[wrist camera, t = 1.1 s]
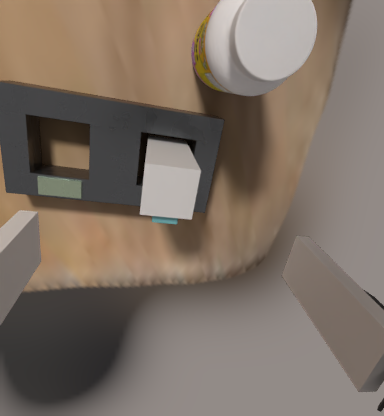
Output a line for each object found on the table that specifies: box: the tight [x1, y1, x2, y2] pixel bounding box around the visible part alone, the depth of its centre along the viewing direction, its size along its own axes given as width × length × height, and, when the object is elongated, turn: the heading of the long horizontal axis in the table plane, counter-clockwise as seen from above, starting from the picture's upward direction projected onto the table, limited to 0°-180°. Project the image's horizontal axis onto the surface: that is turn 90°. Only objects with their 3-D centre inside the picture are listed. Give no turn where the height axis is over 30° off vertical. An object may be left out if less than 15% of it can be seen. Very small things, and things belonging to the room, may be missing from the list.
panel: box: [0, 81, 224, 213], centre depth 27 cm, size 10×20×3 cm, turn 80°
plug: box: [140, 135, 201, 224], centre depth 25 cm, size 5×4×11 cm
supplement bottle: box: [191, 0, 317, 96], centre depth 20 cm, size 7×7×13 cm
